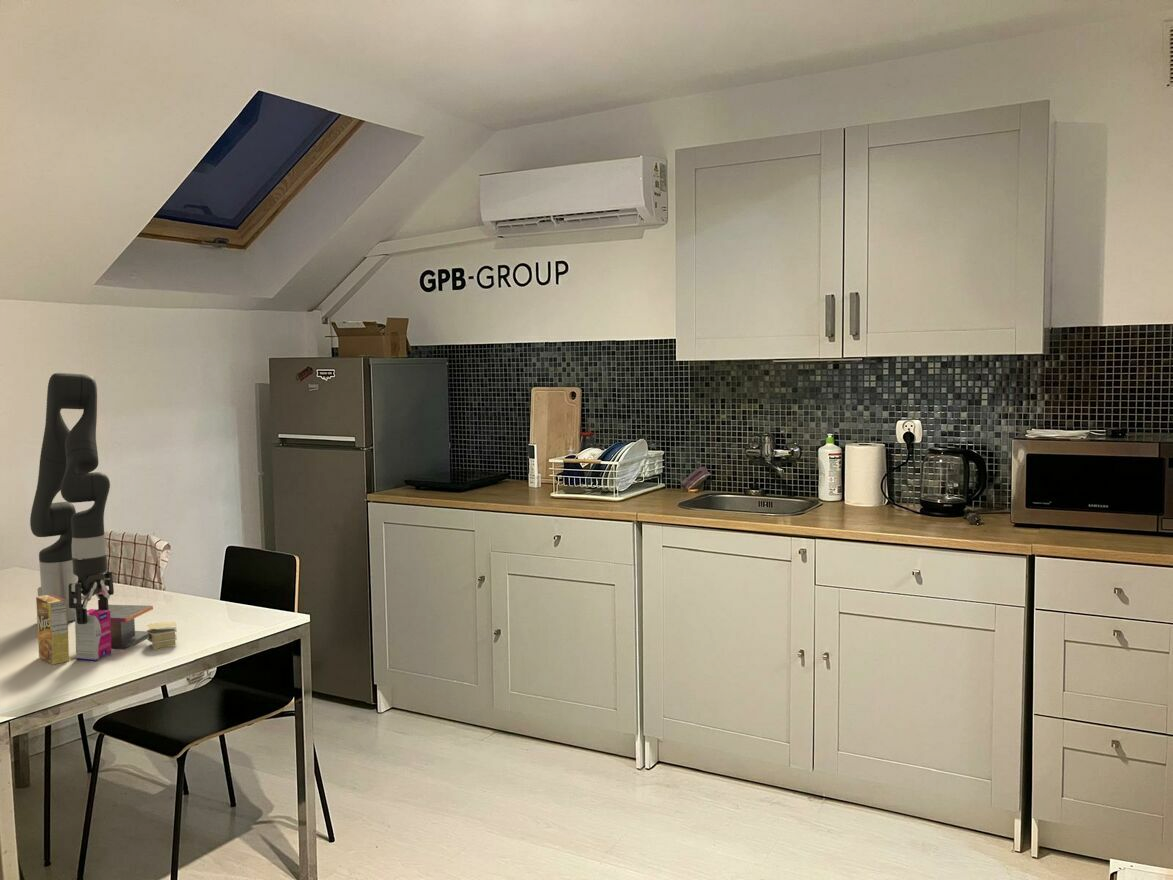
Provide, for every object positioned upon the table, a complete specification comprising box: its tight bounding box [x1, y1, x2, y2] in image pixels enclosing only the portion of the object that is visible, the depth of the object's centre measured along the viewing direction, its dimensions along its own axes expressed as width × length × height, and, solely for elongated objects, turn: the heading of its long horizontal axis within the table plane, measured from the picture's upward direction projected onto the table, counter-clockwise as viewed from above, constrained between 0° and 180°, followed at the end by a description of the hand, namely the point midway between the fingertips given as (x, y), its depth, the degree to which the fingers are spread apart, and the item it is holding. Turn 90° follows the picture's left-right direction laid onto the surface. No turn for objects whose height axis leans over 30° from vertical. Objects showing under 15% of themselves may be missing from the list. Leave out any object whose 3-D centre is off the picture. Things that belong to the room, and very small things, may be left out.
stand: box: [96, 604, 154, 650], centre depth 246 cm, size 12×12×8 cm
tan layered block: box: [146, 621, 178, 649], centre depth 243 cm, size 10×9×6 cm
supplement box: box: [74, 608, 112, 662], centre depth 233 cm, size 6×6×12 cm
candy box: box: [35, 594, 70, 666], centre depth 231 cm, size 9×4×15 cm, turn 50°
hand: (93, 619), depth 232 cm, fingers open, 8 cm apart
